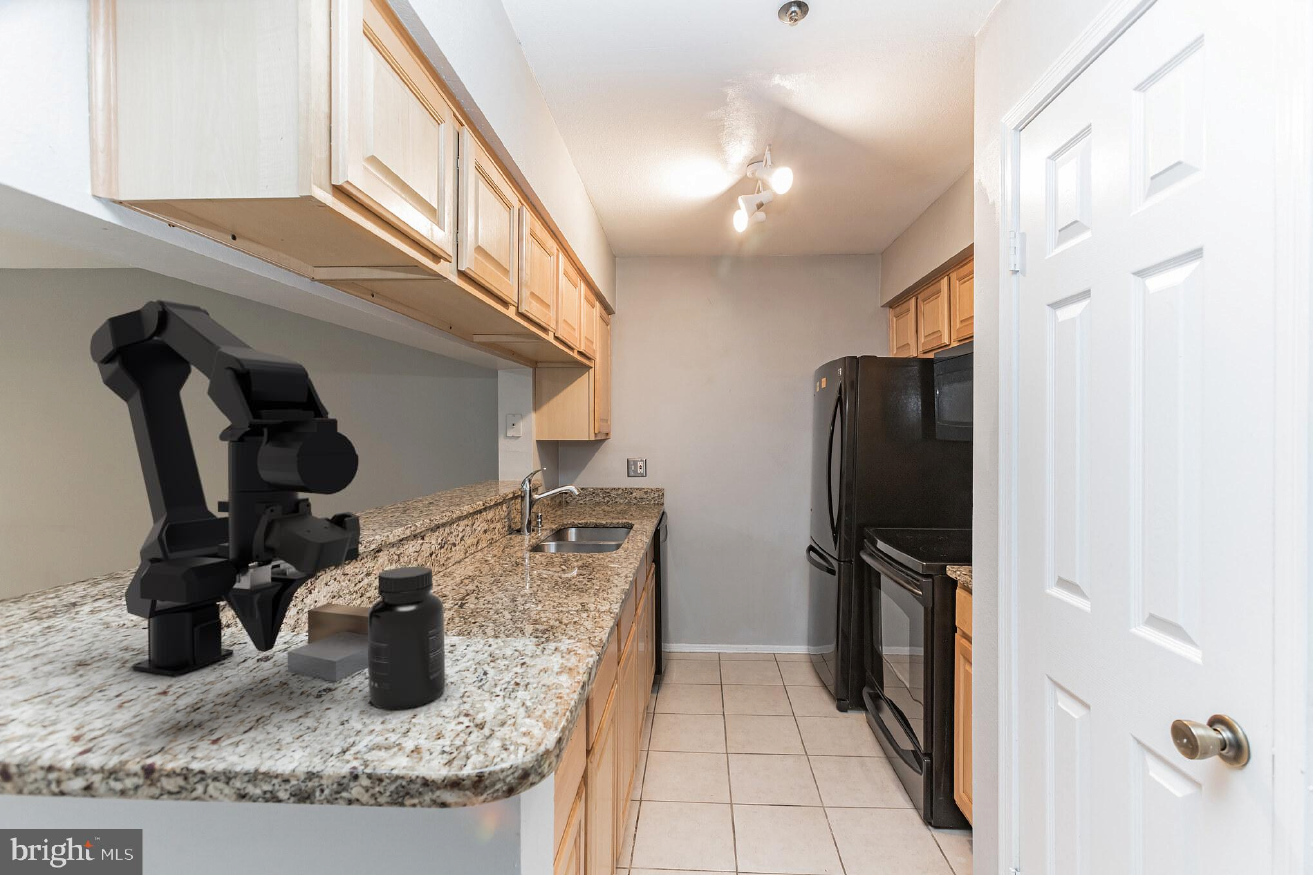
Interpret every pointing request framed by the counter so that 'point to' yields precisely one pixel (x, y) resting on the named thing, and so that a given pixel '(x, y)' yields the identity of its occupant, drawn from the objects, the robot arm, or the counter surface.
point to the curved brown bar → (336, 620)
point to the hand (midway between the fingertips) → (265, 650)
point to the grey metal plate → (331, 656)
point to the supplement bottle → (405, 640)
